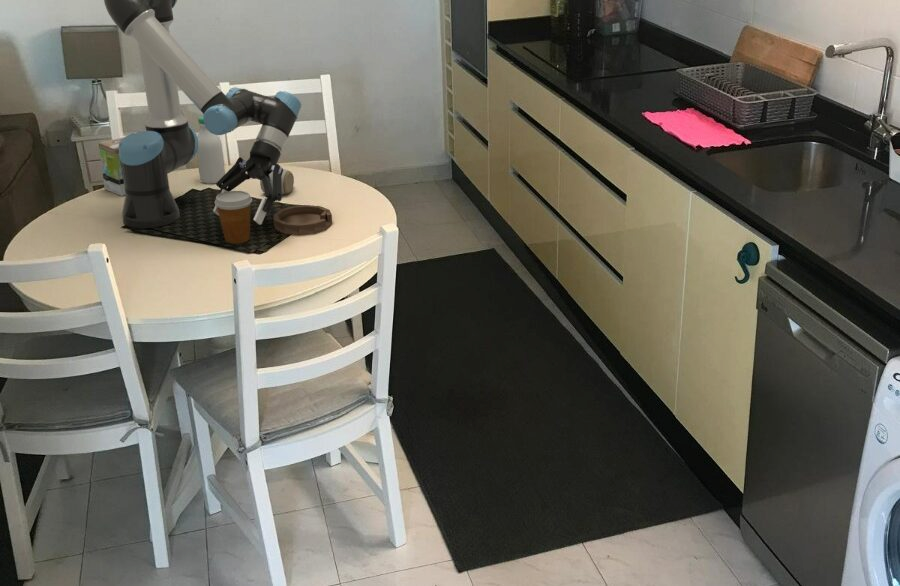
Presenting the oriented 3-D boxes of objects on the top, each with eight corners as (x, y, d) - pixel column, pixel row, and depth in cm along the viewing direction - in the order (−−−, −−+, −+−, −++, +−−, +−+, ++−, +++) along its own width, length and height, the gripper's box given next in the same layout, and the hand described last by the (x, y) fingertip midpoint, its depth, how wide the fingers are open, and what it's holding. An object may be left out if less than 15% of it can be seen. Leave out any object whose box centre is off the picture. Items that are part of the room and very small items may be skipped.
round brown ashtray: (277, 237, 254) (276, 227, 253) (271, 217, 267) (271, 208, 266) (335, 231, 258) (335, 221, 256) (327, 212, 271) (326, 203, 270)
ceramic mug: (286, 197, 283) (284, 172, 279) (260, 195, 284) (258, 170, 281) (300, 187, 292) (298, 162, 289) (275, 185, 294) (273, 160, 291)
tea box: (122, 197, 284) (114, 148, 278) (104, 189, 290) (96, 142, 284) (166, 184, 294) (159, 137, 288) (148, 177, 300) (141, 131, 294)
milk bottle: (230, 180, 298) (224, 116, 289) (209, 186, 293) (202, 121, 284) (216, 174, 303) (209, 112, 294) (195, 180, 298) (187, 117, 289)
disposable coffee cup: (212, 244, 250) (207, 200, 245) (229, 231, 258) (224, 188, 253) (245, 247, 248) (241, 203, 243) (262, 234, 256) (258, 191, 251)
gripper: (313, 160, 253) (282, 232, 247) (239, 147, 264) (208, 216, 259) (299, 145, 246) (267, 219, 241) (224, 133, 258) (192, 203, 252)
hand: (236, 218), depth 250 cm, fingers open, 13 cm apart
